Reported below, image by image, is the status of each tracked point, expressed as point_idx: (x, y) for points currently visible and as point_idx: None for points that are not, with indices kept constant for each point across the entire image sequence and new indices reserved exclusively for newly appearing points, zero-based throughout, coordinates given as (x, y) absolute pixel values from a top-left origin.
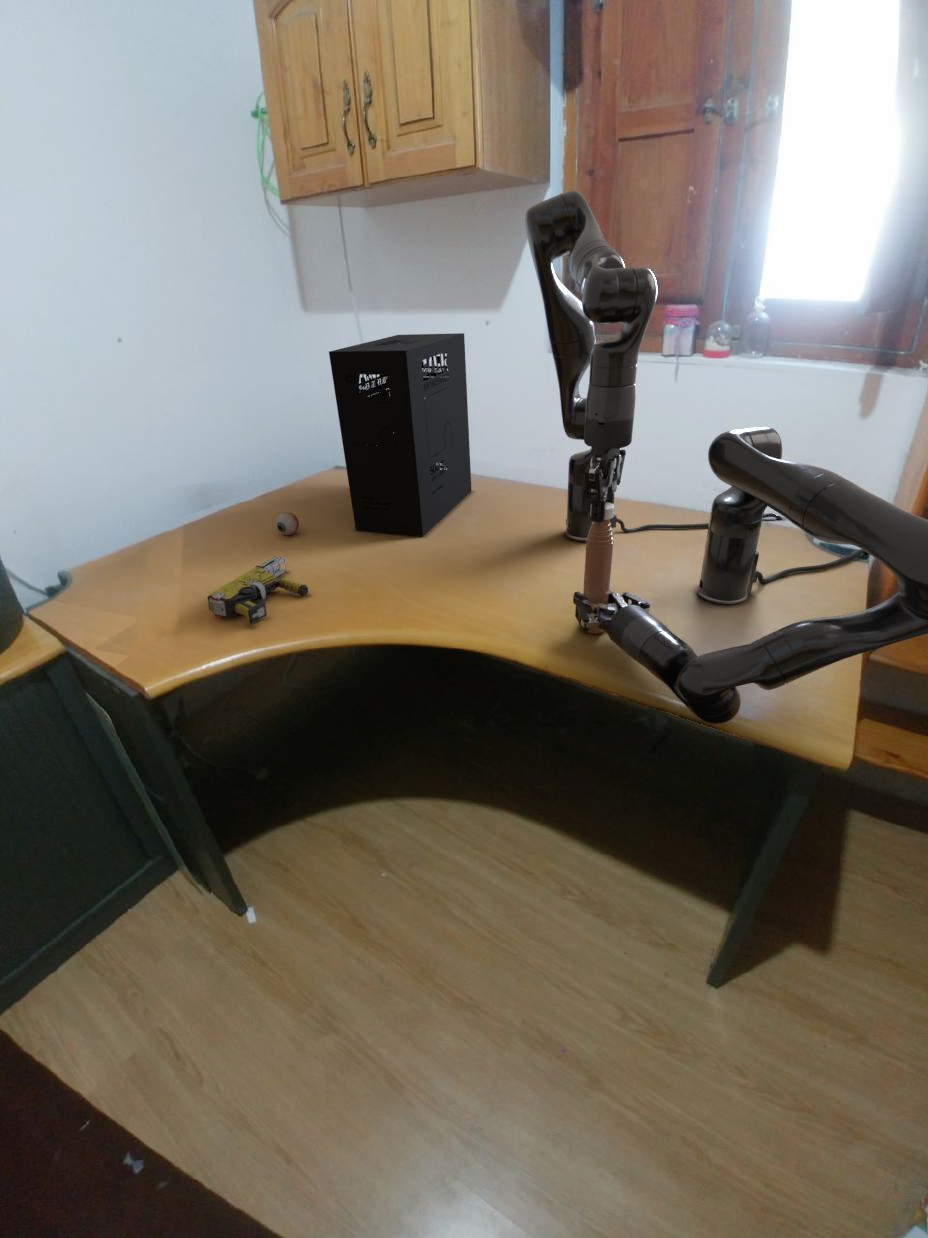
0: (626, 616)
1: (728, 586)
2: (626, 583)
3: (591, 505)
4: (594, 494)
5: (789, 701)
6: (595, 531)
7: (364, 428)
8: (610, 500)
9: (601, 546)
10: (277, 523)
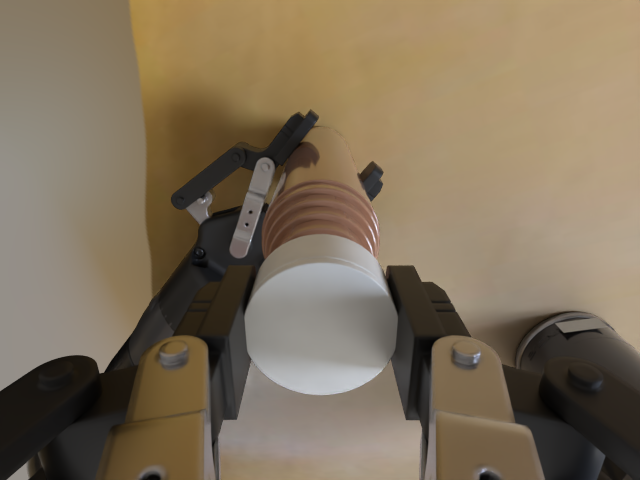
0: (182, 308)
1: None
2: (576, 156)
3: (288, 272)
4: (40, 454)
5: (247, 468)
6: (268, 254)
7: None
8: (395, 368)
9: None
10: None
